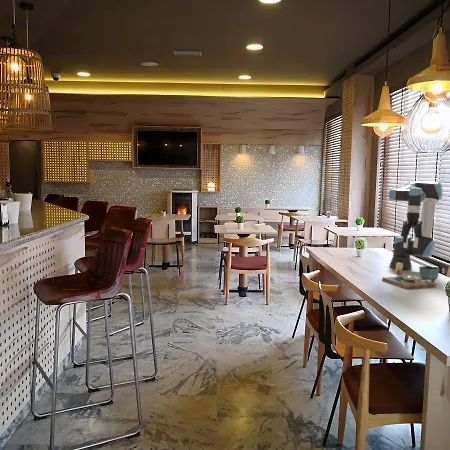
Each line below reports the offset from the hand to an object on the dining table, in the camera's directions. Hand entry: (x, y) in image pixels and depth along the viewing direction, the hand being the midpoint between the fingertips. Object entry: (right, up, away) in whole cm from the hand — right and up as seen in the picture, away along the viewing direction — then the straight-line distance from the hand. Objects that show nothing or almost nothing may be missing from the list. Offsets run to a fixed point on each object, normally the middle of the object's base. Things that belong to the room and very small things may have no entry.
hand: (410, 247), depth 304 cm
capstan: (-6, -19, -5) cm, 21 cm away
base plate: (-4, -22, -8) cm, 24 cm away
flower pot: (+12, -22, +1) cm, 25 cm away
